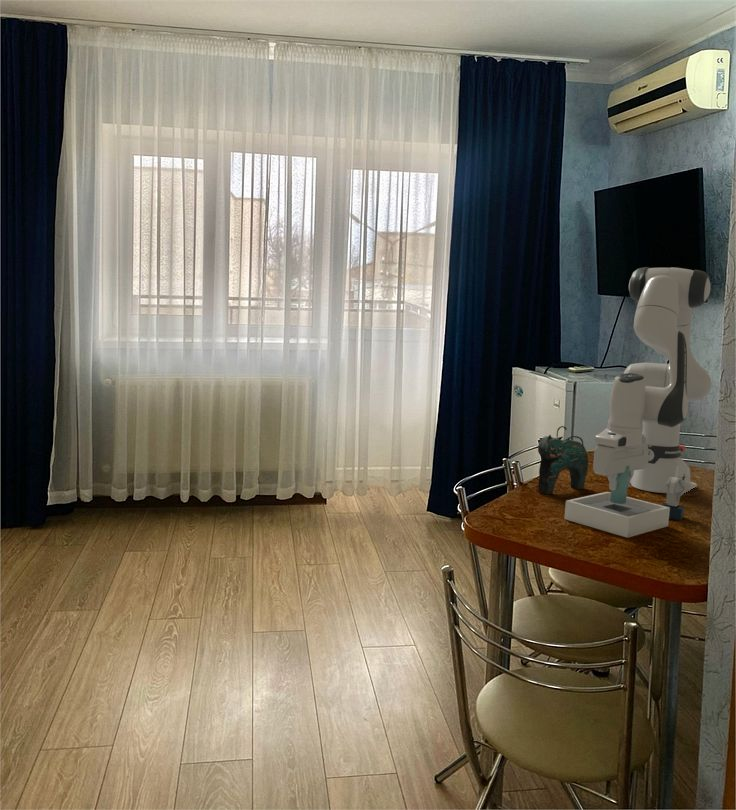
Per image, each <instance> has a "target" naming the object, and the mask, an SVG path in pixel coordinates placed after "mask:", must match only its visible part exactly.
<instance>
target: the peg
mask: <svg viewBox="0 0 736 810" xmlns="http://www.w3.org/2000/svg"><path fill="white" fill-rule="evenodd" d="M629 467H630V466H626V469H625V472H623V473H618V474H617V478H616V482H617V483H619V484H618V489H617V490H610V492H611V497H610V502H613V503H617V504H625V503H626V497H628V488H629V487H628V477H629Z"/></svg>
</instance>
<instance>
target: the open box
mask: <svg viewBox="0 0 736 810" xmlns="http://www.w3.org/2000/svg"><path fill="white" fill-rule="evenodd" d="M610 497H611V491H610V492H609V491H604V492H600V493H595V494H590V495H586V496H581V497H577V498H572V499H567V500H565V507H564V518H563V519H564V520H566V521H568V522H569V521H570V522H573V523H576V524H579V525H583V526H587V527H589V528H590V527H591V528H593V529H597V530H600V531H603V532H607V533H611V534H613V535H617V536H620V537H624V538H628V539H629V538H631V537H635V536H639V535H642V534H645V533H649V532H653V531H656V530H659V529H662V528H666V527H669V512H670V508H669V507H665V506H662V504H658V503H653V502H650V501H646V500H641V499H637V498H634V497H629V496H627V497H626V503H625V504H617V503H613V502H610Z"/></svg>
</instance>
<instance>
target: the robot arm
mask: <svg viewBox="0 0 736 810" xmlns="http://www.w3.org/2000/svg"><path fill="white" fill-rule="evenodd" d="M628 291H629V297H630V299H632V300H633V301H634V302H635V303H637V305H636V309H635V314H634V318H633V319H634V320H633V330H634V334H636V335H635V336H636V337H637V338H638V339H639V340H640V341H641V342H642V343H644V345H647V346H649V347H650V348H652V349H653V350H654V351H655V352H656V353H657V354H660V355H662V356H663V357H665V358H666V359H667V360H668V361H669V363H659V362H658V363H657V362H638V363H637V362H636V363H631V364H629V365H628V366H627V367H626V368H625V369H624V371H623V373H619V374H618V375H615V378H614V380H613V382H612V387H611V390H610V391H611V392H610V399H609V406H608V407H609V408H608V409H609V419H608V421H607V427H606V428H605V429H604V430H602V431H601V432H600V433H598V434H596V435H595V438H594V443H595V444H596V446H595V449H594V453H593V463H592V467H593V472H594V473H595V475H600V476H604V477H607V479H608V483H609V484H608V489H609V490H610V491H611V490H617V489H618V484H619V483H617V482H616V478H617V474H618V473H623V472H625V469H626V466H630V467H629V477H628V487H627V488H630V486H632V487H634V488H635V489H638V490H642V491H646V492H652V493H657V494H658V493H661V494H667V492H668V487H667V485H665V484H666V483H668V480H669V479H670V477H678V478H681V479H682V480H684V481H685V483H686V488H685V490H684V492H683V494H682V495H685V494H686V492H687V493H689V492H690V490H691V489H693V488H695V487H696V486H697V487H698V483H695V482H693V481H691V468H690V467H689V466H688V464H687V463H686V462H685V461H684V460H683V459H682V457H681V456H682V454H681V453H682V452H685V450H686V446H685V445H683V444H680V435H681V434H680V433H681V426H682V425H681V423H682V422H684V421H685V420H686V419H687V415H688V413H689V412H688V410H689V402H696V401H703V400H704V399H705V398H706V397H707V396H708V395H709V393H710V391H711V388H712V378H711V376H710V374H709V372H708V371H707V370H706V369H704V368H703V366H701V365H700V364H699V362H697V360H696V359H695V357H694V355H693V353H692V350H691V349H692V348H691V326H692V325H691V324H692V309H695V308H698V307H701V306H703V305H704V304H705V303H706V302H707V299H708V298H709V296H710V293H711V281H710V276H709V275H708V274H707V273H706V271H703V270H700V269H694V270H692V269H688V268H681V267H672V266H671V267H649V266H645V267H640V268H637V269H636V270H634V271H633V272H632V274H631V277H630V279H629V283H628ZM697 487H696V488H697ZM696 488H695V489H696ZM693 490H694V489H693ZM688 491H689V492H688ZM691 491H692V490H691ZM684 493H685V494H684Z"/></svg>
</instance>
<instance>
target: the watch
mask: <svg viewBox="0 0 736 810" xmlns="http://www.w3.org/2000/svg"><path fill="white" fill-rule="evenodd" d="M665 485H667V487H668V492H667V493H666V500H665V501H666V502H663V503H661V505H662V506H665V507H669V508H670V512H669V519H670V520H676V521H682V519H683V518H684V517H685V516H684V515H685V505H681V504H679V503H680V499H681V497H682V496H683V495H684V494H683V492H684V490H685V488H686V483H685V481H684V480H682V479H681V478H678V477H670V479H669V480H668V483H666V484H665Z"/></svg>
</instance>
